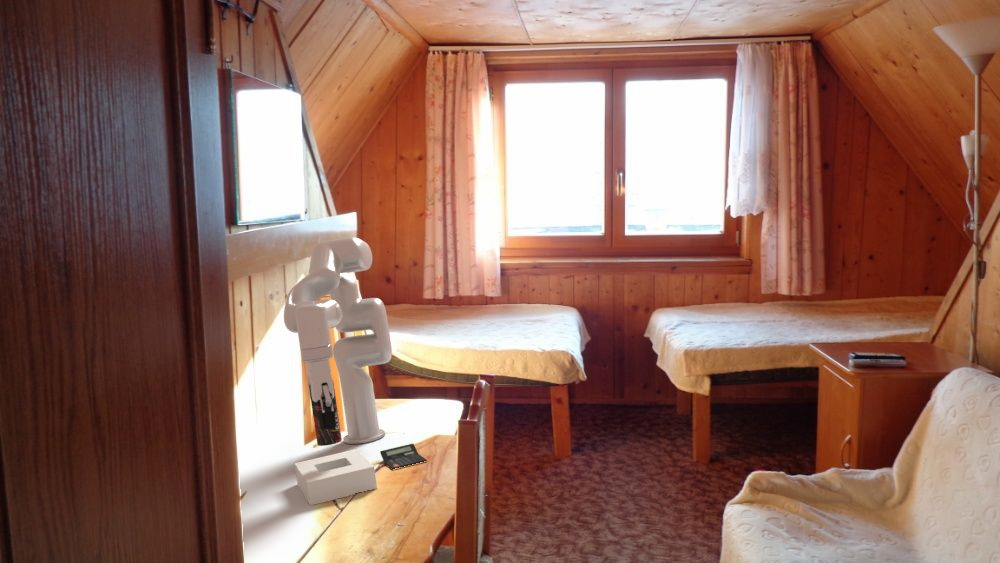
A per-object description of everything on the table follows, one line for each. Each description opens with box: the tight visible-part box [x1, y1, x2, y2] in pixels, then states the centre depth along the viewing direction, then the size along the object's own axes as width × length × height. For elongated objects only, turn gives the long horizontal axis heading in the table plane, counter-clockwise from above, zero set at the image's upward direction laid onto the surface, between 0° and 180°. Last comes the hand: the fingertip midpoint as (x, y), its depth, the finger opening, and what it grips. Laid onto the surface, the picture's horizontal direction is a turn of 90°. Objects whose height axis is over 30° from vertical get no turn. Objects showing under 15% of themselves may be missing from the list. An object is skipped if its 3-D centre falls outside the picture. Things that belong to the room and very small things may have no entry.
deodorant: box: [309, 382, 343, 447], centre depth 192 cm, size 6×6×15 cm
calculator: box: [379, 443, 428, 470], centre depth 208 cm, size 9×12×3 cm
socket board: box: [293, 448, 378, 506], centre depth 193 cm, size 20×16×6 cm
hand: (327, 424), depth 192 cm, fingers closed on deodorant, 5 cm apart
